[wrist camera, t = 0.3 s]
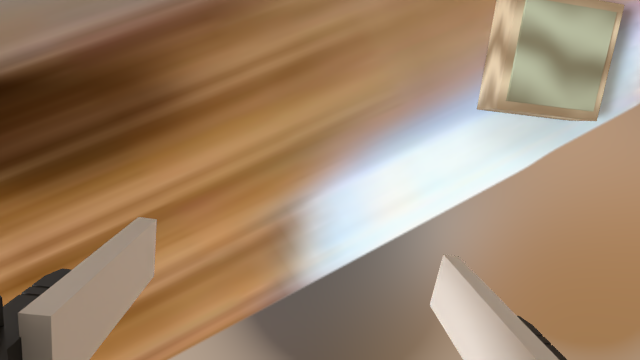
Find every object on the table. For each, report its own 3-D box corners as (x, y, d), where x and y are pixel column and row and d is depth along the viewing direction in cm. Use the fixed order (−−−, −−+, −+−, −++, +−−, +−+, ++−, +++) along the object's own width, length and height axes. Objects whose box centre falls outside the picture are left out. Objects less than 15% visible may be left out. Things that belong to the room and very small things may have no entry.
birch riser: (496, -1, 41) (521, -15, 37) (593, 15, 43) (627, 4, 39) (476, 109, 43) (497, 108, 39) (569, 120, 45) (598, 120, 41)
